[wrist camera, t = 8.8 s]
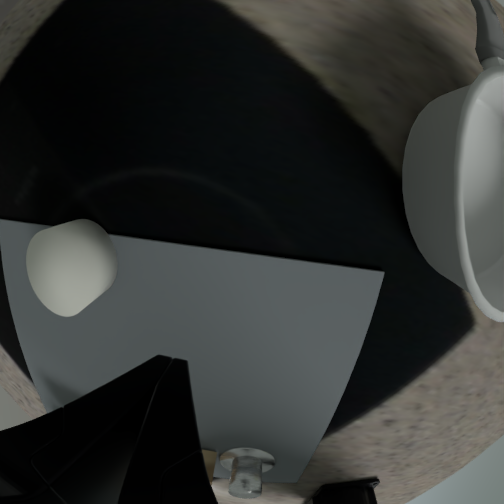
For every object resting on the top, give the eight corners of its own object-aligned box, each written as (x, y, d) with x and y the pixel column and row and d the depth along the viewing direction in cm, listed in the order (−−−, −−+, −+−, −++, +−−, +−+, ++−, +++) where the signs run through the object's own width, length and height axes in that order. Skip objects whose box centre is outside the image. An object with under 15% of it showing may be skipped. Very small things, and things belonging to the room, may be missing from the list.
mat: (383, 270, 13) (384, 272, 13) (296, 481, 19) (296, 482, 19) (0, 218, 14) (-2, 219, 13) (53, 422, 19) (52, 423, 19)
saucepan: (472, 5, 8) (511, -20, 3) (514, 267, 13) (564, 294, 8) (333, -32, 9) (353, -88, 4) (388, 296, 14) (438, 352, 8)
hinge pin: (279, 447, 17) (280, 483, 14) (269, 472, 18) (269, 504, 15) (221, 441, 17) (215, 478, 14) (218, 467, 18) (213, 498, 15)
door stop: (117, 222, 13) (85, 234, 10) (119, 301, 14) (92, 325, 11) (57, 215, 13) (23, 225, 10) (61, 286, 14) (32, 305, 11)
